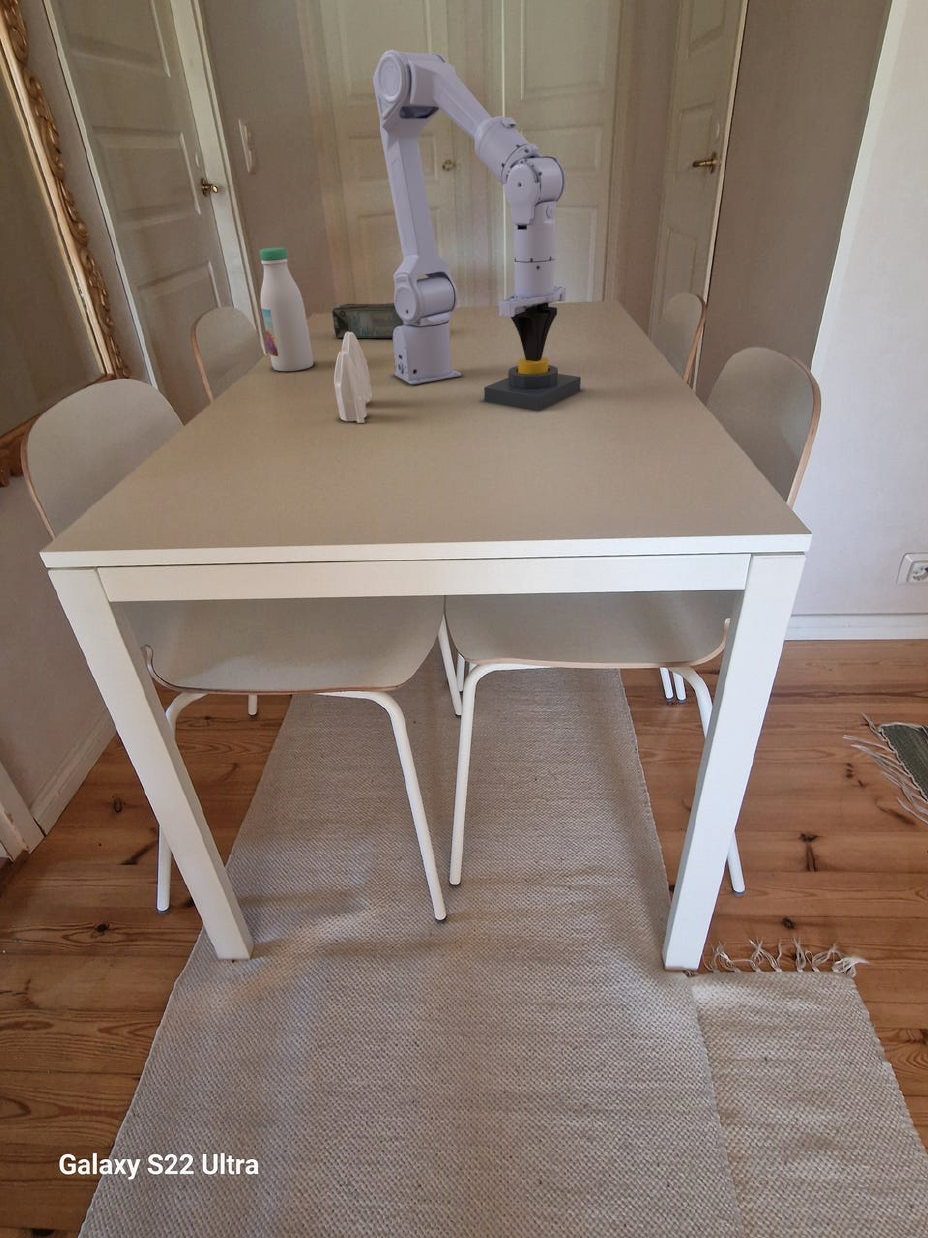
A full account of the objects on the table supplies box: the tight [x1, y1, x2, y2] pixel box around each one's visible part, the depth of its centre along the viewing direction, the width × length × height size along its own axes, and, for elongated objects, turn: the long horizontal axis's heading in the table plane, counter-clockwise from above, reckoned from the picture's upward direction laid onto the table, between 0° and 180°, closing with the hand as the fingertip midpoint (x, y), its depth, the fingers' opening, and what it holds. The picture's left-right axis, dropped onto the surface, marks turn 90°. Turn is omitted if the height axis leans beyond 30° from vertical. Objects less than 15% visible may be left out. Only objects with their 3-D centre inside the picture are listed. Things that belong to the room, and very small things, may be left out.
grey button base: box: [483, 364, 582, 412], centre depth 106 cm, size 12×10×4 cm
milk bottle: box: [258, 247, 314, 372], centre depth 125 cm, size 8×8×20 cm
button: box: [517, 356, 549, 374], centre depth 105 cm, size 5×5×2 cm
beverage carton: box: [331, 302, 405, 339], centre depth 149 cm, size 8×19×7 cm, turn 74°
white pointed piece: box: [333, 332, 373, 424], centre depth 102 cm, size 12×4×11 cm, turn 179°
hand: (533, 359), depth 104 cm, fingers closed, pressing on button
